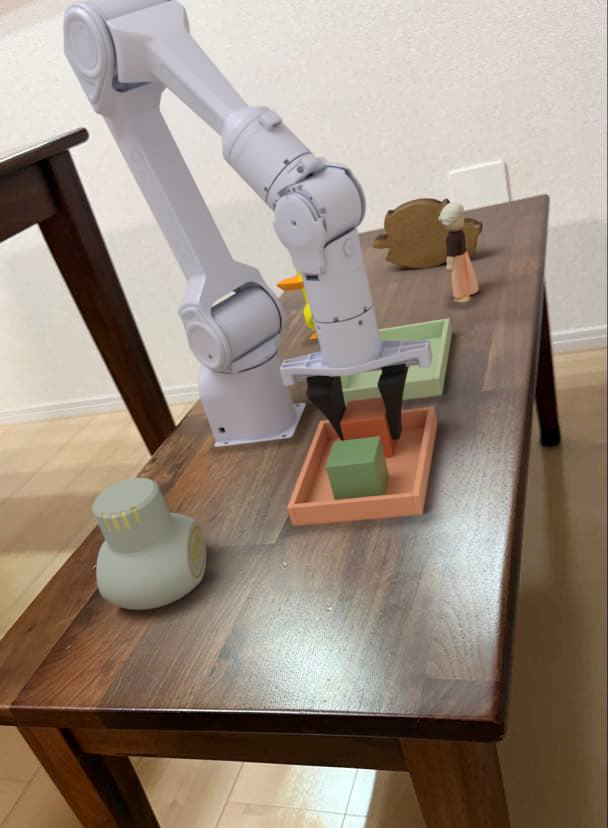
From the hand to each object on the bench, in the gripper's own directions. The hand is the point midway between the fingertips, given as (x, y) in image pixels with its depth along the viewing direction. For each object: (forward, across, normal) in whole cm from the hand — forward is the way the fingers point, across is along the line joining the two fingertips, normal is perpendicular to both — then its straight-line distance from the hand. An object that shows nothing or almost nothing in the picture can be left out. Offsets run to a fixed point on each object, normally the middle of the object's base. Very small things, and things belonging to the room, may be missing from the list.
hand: (372, 437), depth 85 cm
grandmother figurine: (+2, -6, -39) cm, 39 cm away
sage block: (+1, 0, +8) cm, 8 cm away
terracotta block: (+1, 0, 0) cm, 1 cm away
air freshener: (+2, +17, +20) cm, 26 cm away
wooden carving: (+2, 0, -54) cm, 55 cm away
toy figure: (+2, +14, -32) cm, 35 cm away
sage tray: (+2, 0, -18) cm, 18 cm away
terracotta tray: (+2, 0, +4) cm, 5 cm away
